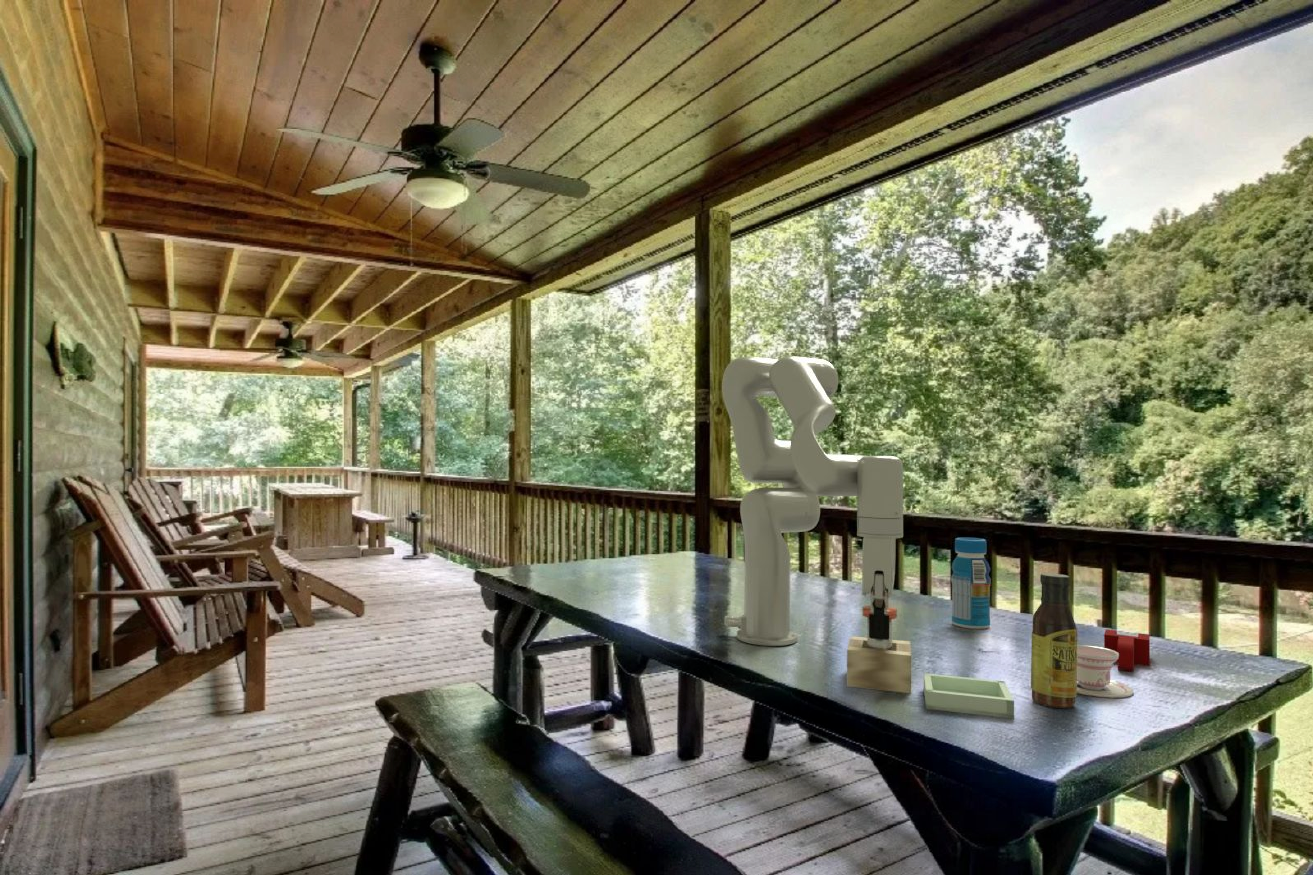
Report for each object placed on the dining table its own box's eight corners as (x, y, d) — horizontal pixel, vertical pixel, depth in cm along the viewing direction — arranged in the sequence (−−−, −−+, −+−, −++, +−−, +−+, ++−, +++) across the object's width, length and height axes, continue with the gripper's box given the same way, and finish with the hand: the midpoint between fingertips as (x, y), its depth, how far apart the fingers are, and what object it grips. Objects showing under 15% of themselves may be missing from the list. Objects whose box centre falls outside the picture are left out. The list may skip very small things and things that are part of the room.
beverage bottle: (947, 626, 164) (947, 539, 165) (955, 620, 171) (955, 536, 172) (987, 631, 160) (986, 541, 160) (994, 625, 166) (993, 538, 167)
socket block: (847, 686, 118) (847, 649, 118) (850, 670, 128) (850, 636, 128) (911, 693, 115) (911, 655, 115) (910, 676, 124) (910, 641, 125)
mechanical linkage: (1106, 652, 144) (1106, 627, 144) (1149, 658, 140) (1149, 632, 140) (1102, 670, 131) (1101, 642, 131) (1149, 677, 127) (1149, 648, 127)
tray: (926, 708, 108) (926, 691, 108) (923, 689, 117) (923, 673, 117) (1014, 718, 104) (1014, 700, 104) (1004, 698, 113) (1004, 681, 113)
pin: (861, 684, 120) (861, 610, 120) (863, 674, 125) (863, 604, 125) (896, 687, 118) (896, 613, 118) (896, 678, 123) (896, 607, 124)
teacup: (1110, 704, 112) (1110, 664, 112) (1035, 683, 122) (1035, 647, 122) (1147, 692, 118) (1147, 654, 118) (1073, 673, 128) (1073, 638, 128)
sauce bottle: (1057, 712, 107) (1056, 578, 108) (1021, 699, 113) (1021, 572, 113) (1087, 707, 110) (1086, 576, 110) (1050, 694, 115) (1049, 571, 116)
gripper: (859, 523, 132) (859, 622, 131) (854, 531, 115) (853, 644, 115) (902, 525, 129) (902, 626, 129) (903, 533, 113) (903, 648, 112)
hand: (879, 633), depth 122 cm, fingers closed on pin, 5 cm apart
